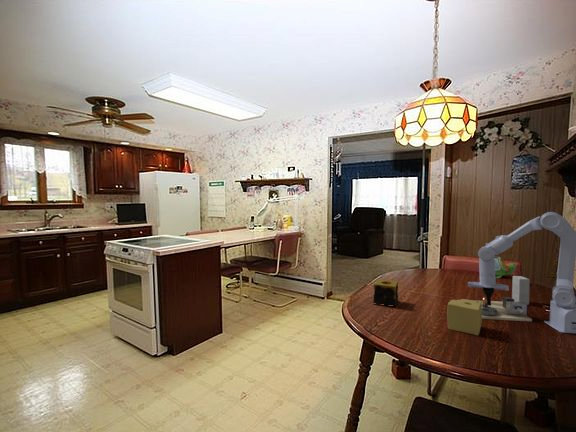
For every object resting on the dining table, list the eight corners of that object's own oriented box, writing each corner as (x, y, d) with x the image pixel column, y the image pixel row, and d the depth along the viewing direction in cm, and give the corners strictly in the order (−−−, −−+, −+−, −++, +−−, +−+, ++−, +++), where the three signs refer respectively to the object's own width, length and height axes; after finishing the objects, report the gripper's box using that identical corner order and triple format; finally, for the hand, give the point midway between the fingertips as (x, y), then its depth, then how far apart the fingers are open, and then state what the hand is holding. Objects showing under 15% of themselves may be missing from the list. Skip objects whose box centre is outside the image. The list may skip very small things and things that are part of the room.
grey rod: (526, 317, 116) (526, 306, 116) (517, 317, 117) (518, 306, 116) (510, 307, 128) (510, 297, 127) (502, 306, 128) (502, 296, 128)
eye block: (526, 315, 118) (526, 304, 118) (510, 314, 120) (510, 303, 119) (522, 312, 121) (522, 301, 121) (506, 312, 123) (506, 301, 122)
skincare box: (529, 305, 133) (530, 279, 132) (518, 304, 133) (519, 279, 133) (521, 300, 139) (522, 276, 138) (511, 300, 139) (512, 275, 139)
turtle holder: (515, 280, 171) (516, 261, 170) (479, 276, 183) (479, 257, 182) (517, 276, 180) (517, 257, 179) (482, 272, 192) (482, 254, 191)
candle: (373, 304, 137) (372, 284, 137) (377, 298, 146) (377, 278, 146) (395, 308, 133) (395, 286, 132) (398, 301, 141) (398, 281, 141)
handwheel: (497, 310, 123) (498, 299, 123) (496, 317, 116) (496, 305, 116) (473, 306, 129) (473, 295, 129) (470, 312, 122) (470, 300, 122)
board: (531, 321, 115) (531, 319, 115) (476, 318, 119) (476, 316, 119) (504, 303, 135) (504, 301, 135) (457, 301, 139) (457, 299, 139)
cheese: (451, 320, 118) (452, 296, 118) (483, 327, 111) (483, 301, 111) (446, 329, 110) (446, 303, 110) (480, 337, 103) (480, 310, 103)
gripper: (467, 274, 126) (468, 305, 126) (508, 277, 117) (509, 310, 118) (468, 271, 132) (469, 300, 132) (507, 273, 123) (508, 304, 124)
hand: (488, 304), depth 125 cm, fingers closed, pressing on handwheel
